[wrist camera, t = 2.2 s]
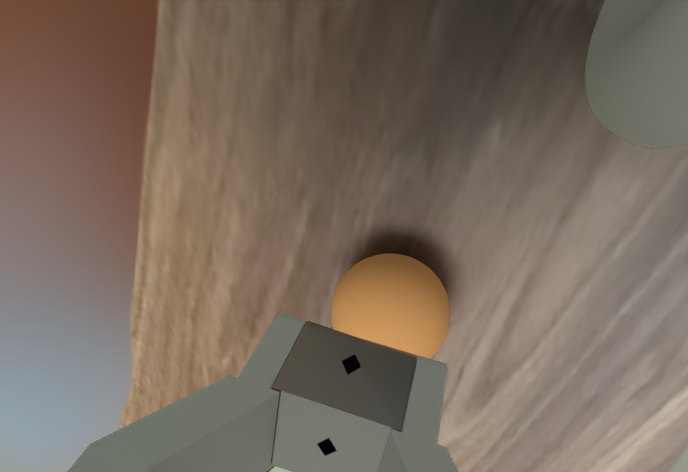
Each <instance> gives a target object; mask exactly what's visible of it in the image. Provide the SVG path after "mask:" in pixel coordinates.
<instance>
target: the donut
mask: <svg viewBox="0 0 688 472" xmlns="http://www.w3.org/2000/svg"><path fill="white" fill-rule="evenodd" d="M585 85H586V93H587V98H588V101H589V105H590V108H591V111H592V113H593V114H594V115H595V117H596V118H597V119H598V120H599V122H600V123H601V124H602V125H603V126H604V127H606V128H607V129H609V130H610V131H611V132H613V133H614V134H615V135H617V136H619V137H620V138H622V139H624V140H625V141H627V142H629V143H630V144H632V145H636V146H641V147H645V148H650V149H656V148H668V147H677V146H684V145H688V0H605V1H604V3H603V5H602V7H601V10H600V13H599V16H598V19H597V22H596V25H595V27H594V30H593V33H592V36H591V39H590V44H589V49H588V54H587V59H586V67H585Z"/></svg>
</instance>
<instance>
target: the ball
mask: <svg viewBox="0 0 688 472" xmlns="http://www.w3.org/2000/svg"><path fill="white" fill-rule="evenodd" d="M331 318H332V325H333V329H334V330H337V331H340V332H343V333H346V334H349V335H352V336H355V337H358V338H361V339H365V340H368V341H372V342H375V343H378V344H382V345H385V346H388V347H392V348H395V349H398V350H402V351H405V352H408V353H412V354H415V355H417V356H418V355H419V356H422V357H426V358H429V359H430V358H432V357H433V356H434V355H435V353H436V352H437V351H438V350H439V348H440V347H441V345H442V344H443V342H444V340H445V337H446V335H447V332H448V328H449V324H450V305H449V300H448V296H447V293H446V291H445V289H444V286H443V284H442V283H441V281H440V280H439V278H438V277H437V276H436V275H435V273H434V272H433V271H432V270H431V269H430V268H429V267H427V266H426V265H425V264H423V263H422V262H420V261H418V260H416V259H414V258H412V257H409V256H406V255H401V254H394V253H385V254H378V255H374V256H371V257H368V258H366V259H364V260H362V261H360V262H359V263H357V264H356V265H354V266H353V267H352V268H351V269H350V270H349V271H348V272H347V273H346V274H345V275H344V276H343V278H342V279H341V281H340V282H339V284H338V286H337V288H336V290H335V293H334V296H333V300H332V307H331Z"/></svg>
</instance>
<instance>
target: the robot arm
mask: <svg viewBox="0 0 688 472" xmlns="http://www.w3.org/2000/svg"><path fill="white" fill-rule="evenodd" d="M447 371H448V367H447V364H446V363H443V362H439V361H436V360H433V359H429V358H426V357H422V356H419V355H418V356H417V355H415V354H412V353H408V352H405V351H402V350H398V349H395V348H392V347H388V346H385V345H382V344H378V343H375V342H372V341H368V340H365V339H361V338H358V337H355V336H352V335H349V334H346V333H343V332H340V331H337V330H334V329H331V328H328V327H325V326H322V325H319V324H316V323H313V322H310V321H305V320H302V319H299V318H296V317H293V316H291V315H288V314H285V313H282V312H280V313H279V314H278V315H277V316H276V317H275V318H274V319H273V321H272V323H271V324H270V326H269V328H268V329H267V331H266V333H265V334H264V336H263V338H262V339H261V341H260V343H259V344H258V346H257V347H256V349H255V351H254V352H253V354H252V356H251V357H250V359H249V361H248V362H247V364H246V366H245V367H244V369H243V371H242V372H241V374H240V376H239V377H238V378H237V377H234V376H231V375H229V376H227V377H225V378H223V379H221V380H219V381H217V382H215V383H213V384H211V385H209V386H207V387H205V388H203V389H201V390H199V391H197V392H195V393H193V394H191V395H189V396H187V397H185V398H183V399H181V400H179V401H176V402H174V403H172V404H170V405H168V406H166V407H164V408H162V409H160V410H158V411H156V412H154V413H152V414H150V415H148V416H146V417H144V418H142V419H140V420H138V421H136V422H134V423H132V424H130V425H128V426H126V427H124V428H122V429H120V430H118V431H116V432H114V433H112V434H109V435H107V436H105V437H103V438H101V439H99V440H97V441H95V442H93V443H91V444H90V445H89V446H88V447H87V448H86V450H85V451H84V452H83V453H82V455H81V456H80V457H79V458H78V459H77V461H76V462H75V463H74V464H73V466H72V467H71V468H70V469H69V470H68V472H266V471H267V470H268V469H270V465H273V466H276V467H279V468H282V469H285V470H288V471H291V472H458V470H457V468H456V466H455V464H454V462H453V460H452V458H451V456H450V454H449V452H448V450H447V448H446V447H443V446H440V445H438V444H437V442H438V435H439V428H440V421H441V414H442V406H443V399H444V392H445V385H446V378H447Z"/></svg>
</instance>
